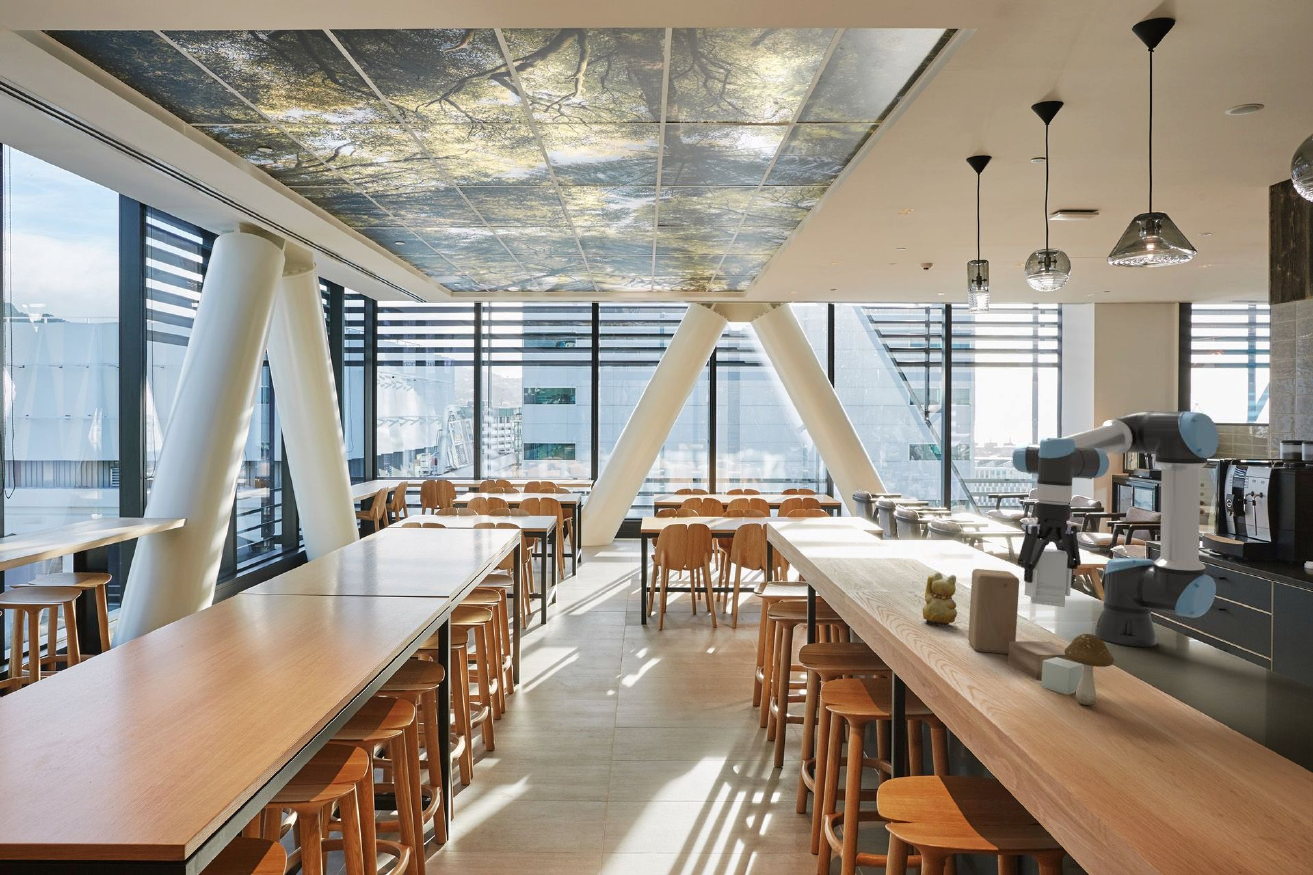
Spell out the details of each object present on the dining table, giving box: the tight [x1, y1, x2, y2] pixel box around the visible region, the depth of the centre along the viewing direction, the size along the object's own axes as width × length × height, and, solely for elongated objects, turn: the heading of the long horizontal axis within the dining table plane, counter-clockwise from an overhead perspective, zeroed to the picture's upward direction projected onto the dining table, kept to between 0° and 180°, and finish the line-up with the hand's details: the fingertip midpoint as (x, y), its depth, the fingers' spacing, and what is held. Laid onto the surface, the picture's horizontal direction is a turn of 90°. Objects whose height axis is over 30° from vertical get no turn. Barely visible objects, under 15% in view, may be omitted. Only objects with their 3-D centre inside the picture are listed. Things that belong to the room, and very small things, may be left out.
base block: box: [1007, 640, 1077, 680], centre depth 193 cm, size 11×11×6 cm
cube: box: [1040, 657, 1084, 696], centre depth 181 cm, size 6×6×6 cm
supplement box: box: [1030, 547, 1068, 608], centre depth 192 cm, size 7×7×13 cm
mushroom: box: [1064, 633, 1115, 706], centre depth 170 cm, size 9×11×15 cm
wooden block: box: [967, 568, 1020, 655], centre depth 211 cm, size 10×10×20 cm
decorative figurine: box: [922, 571, 958, 627], centre depth 235 cm, size 10×8×15 cm
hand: (1047, 595), depth 193 cm, fingers closed on supplement box, 10 cm apart
